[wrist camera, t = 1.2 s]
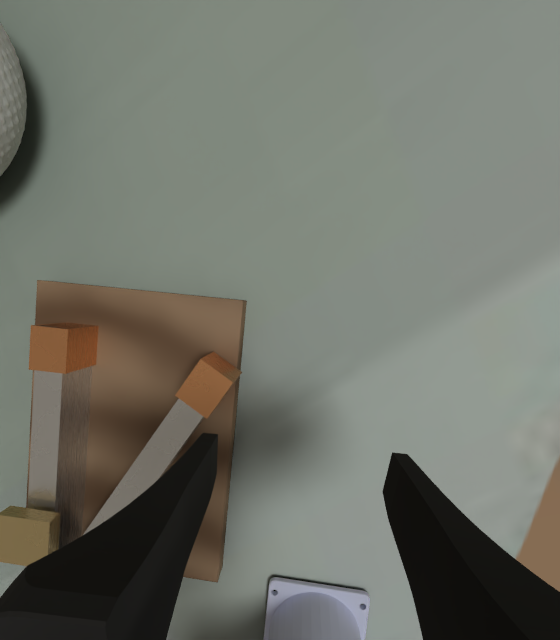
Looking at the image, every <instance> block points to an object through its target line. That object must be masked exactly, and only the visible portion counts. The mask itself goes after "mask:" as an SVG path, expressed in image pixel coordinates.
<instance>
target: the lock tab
mask: <svg viewBox="0 0 560 640" xmlns="http://www.w3.org/2000/svg"><path fill="white" fill-rule="evenodd" d="M59 531H60V513H56V512H50V511H43V510H36V509H29V508H23V507H16V506H9V507H8V508H6V509H5V510H3V511H2V512H1V513H0V562H5V563H11V564H17V565H23V566H27V565H29V564H31V563H33V562H35V561H37V560H39V559H41V558H43V557H45V556H47V555H48V554H50V553H52V552H54V551H56V550H58V549H59Z"/></svg>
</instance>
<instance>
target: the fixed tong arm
mask: <svg viewBox="0 0 560 640" xmlns="http://www.w3.org/2000/svg"><path fill="white" fill-rule="evenodd" d="M98 327H99V326H95V325H86V324H77V323H67V322H65V323H53V324H41V325H31V336H30V357H29V370H34V388H33V408H32V429H31V449H30V470H29V490H28V508H29V509H36V510H43V511H50V512H56V513H60V531H59V549H60V548H62V547H64V546H65V545H67V544H69V543H71V542H72V541H74V540H76V539H77V538H79V537H81V536H82V528H83V512H84V495H85V479H86V462H87V446H88V429H89V413H90V397H91V380H92V366H93V365H96V360H97V343H98ZM26 567H27V566H25V568H26Z"/></svg>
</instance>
